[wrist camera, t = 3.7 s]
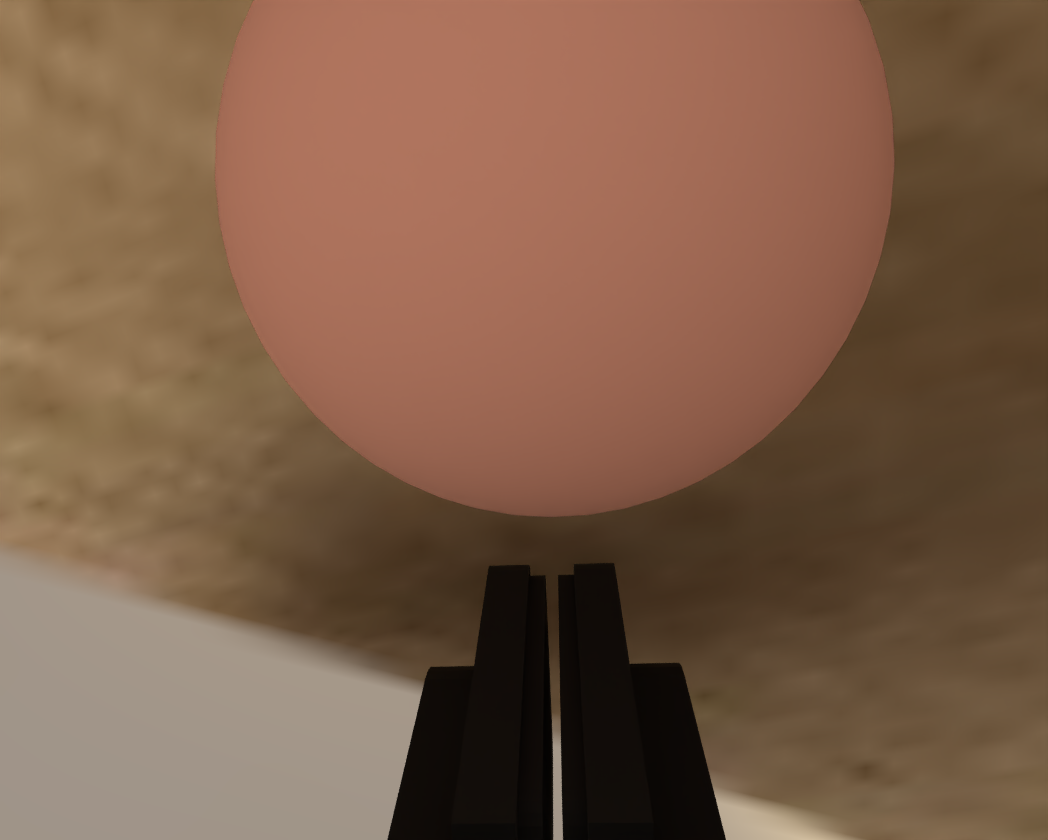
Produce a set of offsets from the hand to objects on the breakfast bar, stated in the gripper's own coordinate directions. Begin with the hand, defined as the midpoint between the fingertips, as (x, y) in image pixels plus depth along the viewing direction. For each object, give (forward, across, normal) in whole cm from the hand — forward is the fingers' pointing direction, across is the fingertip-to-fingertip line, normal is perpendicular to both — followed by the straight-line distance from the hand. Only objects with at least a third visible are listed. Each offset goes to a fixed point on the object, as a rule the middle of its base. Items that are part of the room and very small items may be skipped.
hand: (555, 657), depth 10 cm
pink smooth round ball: (-1, 0, -6) cm, 6 cm away
